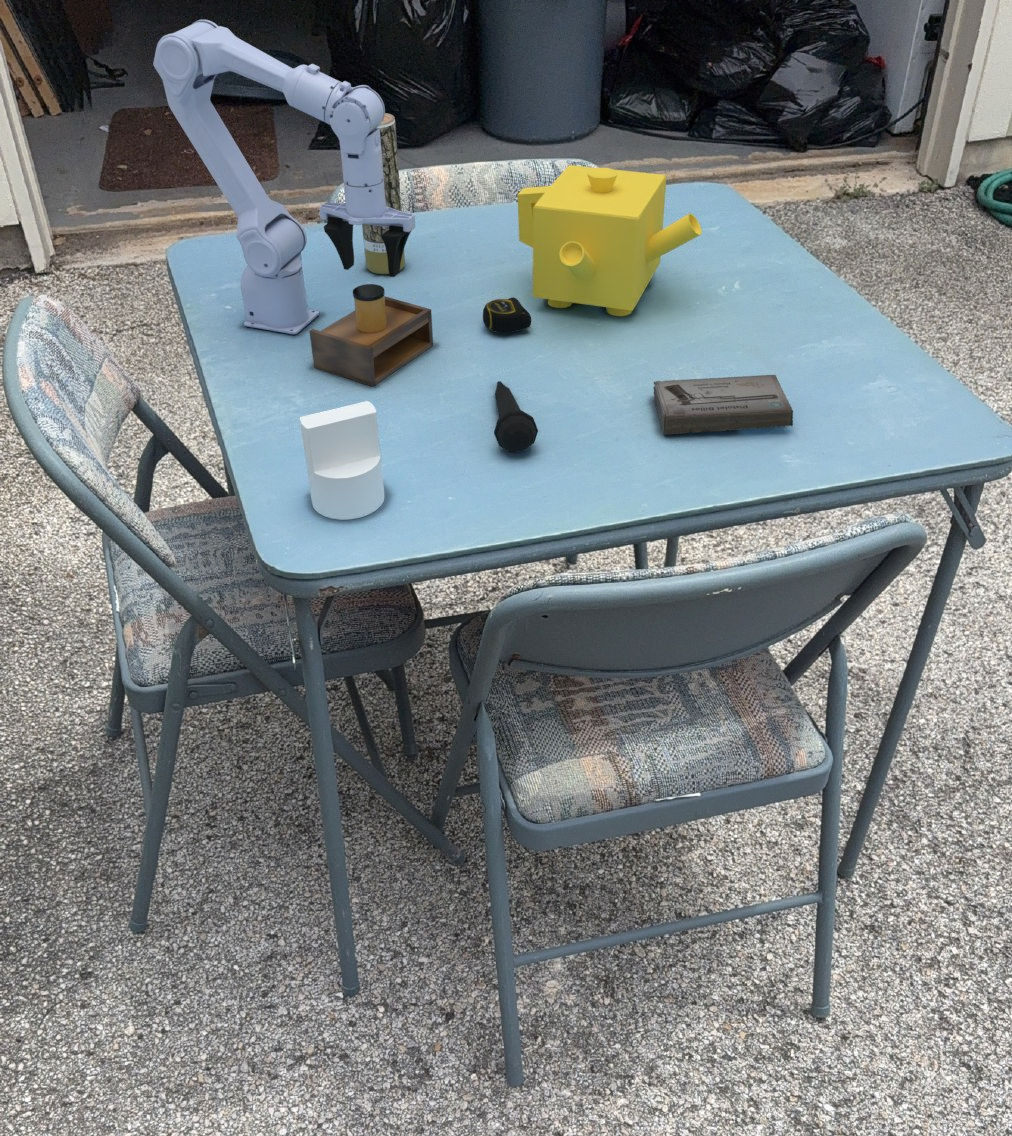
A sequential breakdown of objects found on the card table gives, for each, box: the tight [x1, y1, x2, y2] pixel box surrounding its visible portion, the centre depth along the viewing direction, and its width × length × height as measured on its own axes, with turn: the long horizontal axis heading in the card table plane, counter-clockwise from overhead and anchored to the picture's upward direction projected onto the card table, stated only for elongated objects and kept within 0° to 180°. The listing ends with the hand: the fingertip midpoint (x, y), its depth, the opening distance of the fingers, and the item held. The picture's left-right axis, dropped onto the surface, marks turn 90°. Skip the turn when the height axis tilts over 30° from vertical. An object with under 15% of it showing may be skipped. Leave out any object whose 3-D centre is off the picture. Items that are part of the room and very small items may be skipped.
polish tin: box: [352, 283, 387, 333], centre depth 166 cm, size 5×5×6 cm
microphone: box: [493, 380, 539, 453], centre depth 154 cm, size 6×6×20 cm
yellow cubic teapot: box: [517, 164, 703, 317], centre depth 180 cm, size 35×29×20 cm
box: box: [652, 374, 794, 436], centre depth 154 cm, size 11×17×3 cm, turn 92°
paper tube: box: [361, 112, 406, 275], centre depth 188 cm, size 7×7×25 cm
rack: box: [308, 295, 434, 388], centre depth 169 cm, size 11×15×6 cm
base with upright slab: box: [299, 400, 385, 521], centre depth 137 cm, size 9×9×12 cm
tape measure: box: [482, 296, 532, 334], centre depth 176 cm, size 7×7×4 cm
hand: (371, 270), depth 170 cm, fingers open, 7 cm apart
